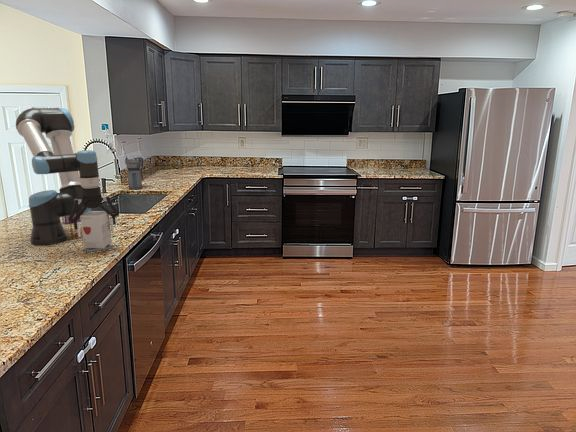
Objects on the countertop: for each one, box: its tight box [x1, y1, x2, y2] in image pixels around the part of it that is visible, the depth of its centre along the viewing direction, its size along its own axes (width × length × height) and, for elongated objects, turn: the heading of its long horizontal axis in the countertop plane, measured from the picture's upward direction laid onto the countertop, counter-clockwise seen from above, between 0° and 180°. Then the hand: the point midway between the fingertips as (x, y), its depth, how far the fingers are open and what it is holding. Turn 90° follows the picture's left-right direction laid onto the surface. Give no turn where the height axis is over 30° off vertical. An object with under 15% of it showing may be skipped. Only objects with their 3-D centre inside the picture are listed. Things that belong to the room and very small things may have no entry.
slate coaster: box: [84, 243, 113, 254], centre depth 185 cm, size 10×10×2 cm
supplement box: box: [80, 210, 113, 249], centre depth 183 cm, size 9×9×15 cm
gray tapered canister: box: [124, 156, 144, 191], centre depth 320 cm, size 10×13×25 cm
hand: (96, 233), depth 183 cm, fingers open, 13 cm apart
